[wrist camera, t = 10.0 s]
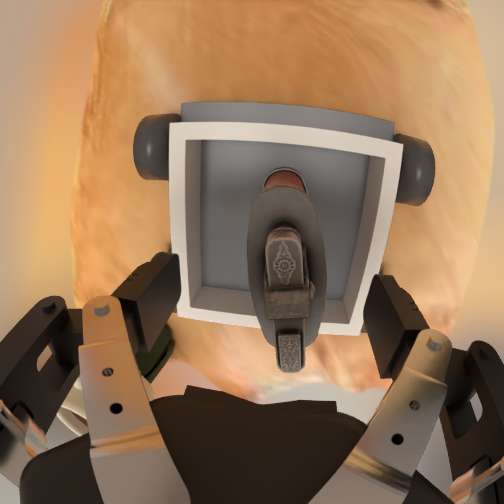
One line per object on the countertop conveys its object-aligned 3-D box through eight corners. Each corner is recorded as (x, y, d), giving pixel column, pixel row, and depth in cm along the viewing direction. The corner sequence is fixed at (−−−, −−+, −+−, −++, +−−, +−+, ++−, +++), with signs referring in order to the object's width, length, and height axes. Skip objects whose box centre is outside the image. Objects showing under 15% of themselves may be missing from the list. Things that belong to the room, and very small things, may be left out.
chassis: (164, 106, 17) (134, 101, 13) (410, 128, 16) (440, 128, 12) (171, 297, 24) (151, 328, 20) (369, 318, 22) (381, 352, 18)
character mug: (190, 372, 28) (152, 473, 16) (135, 364, 29) (88, 449, 17) (167, 289, 23) (90, 403, 12) (105, 285, 24) (23, 373, 13)
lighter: (256, 169, 17) (220, 209, 8) (309, 165, 17) (335, 200, 8) (268, 280, 20) (252, 388, 11) (314, 277, 20) (328, 386, 11)
